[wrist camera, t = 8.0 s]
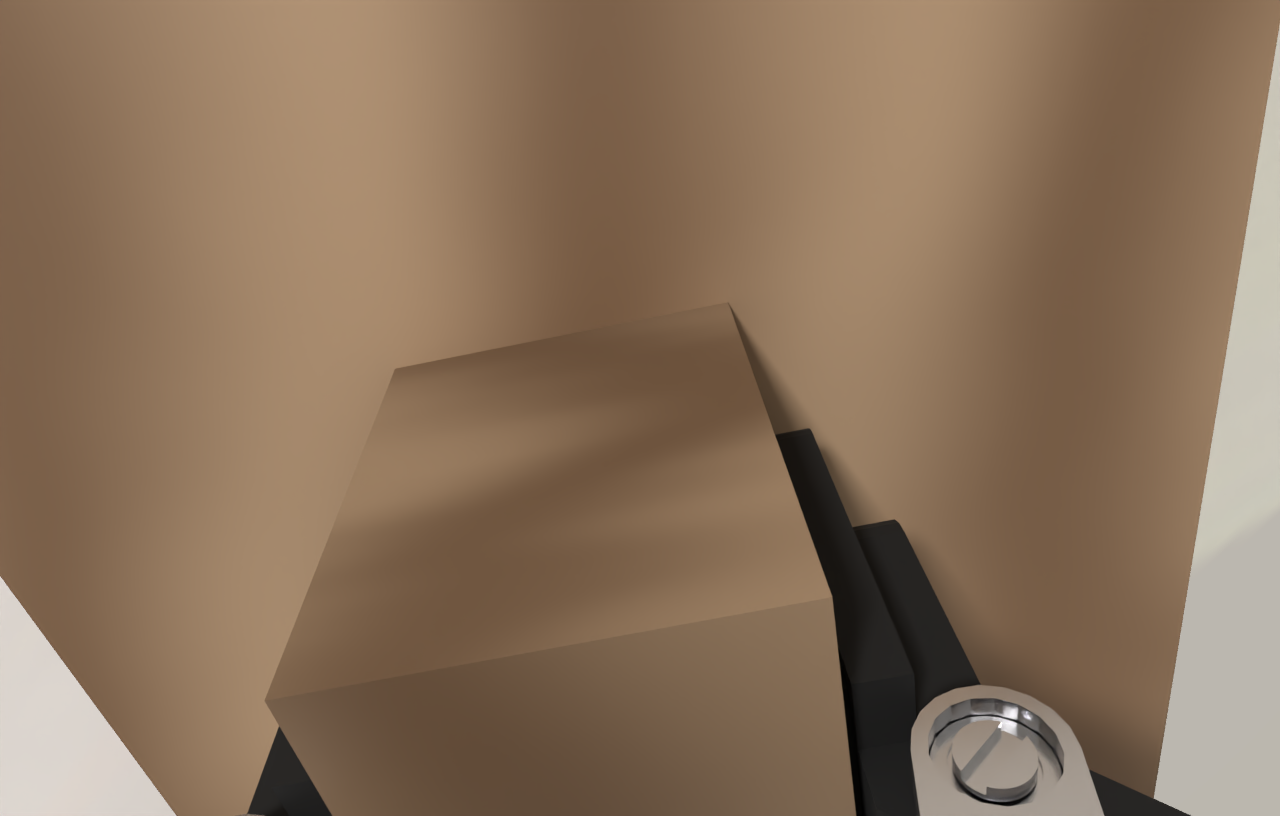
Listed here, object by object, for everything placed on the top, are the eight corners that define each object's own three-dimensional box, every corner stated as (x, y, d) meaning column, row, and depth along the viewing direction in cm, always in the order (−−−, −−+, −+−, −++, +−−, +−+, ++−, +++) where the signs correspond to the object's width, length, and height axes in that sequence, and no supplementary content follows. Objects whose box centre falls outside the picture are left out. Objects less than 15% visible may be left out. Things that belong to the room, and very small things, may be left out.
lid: (1279, -350, 8) (2372, -725, 3) (1128, 763, 16) (1371, 1151, 11) (-327, 18, 9) (-1470, 178, 4) (288, 906, 17) (165, 1330, 12)
